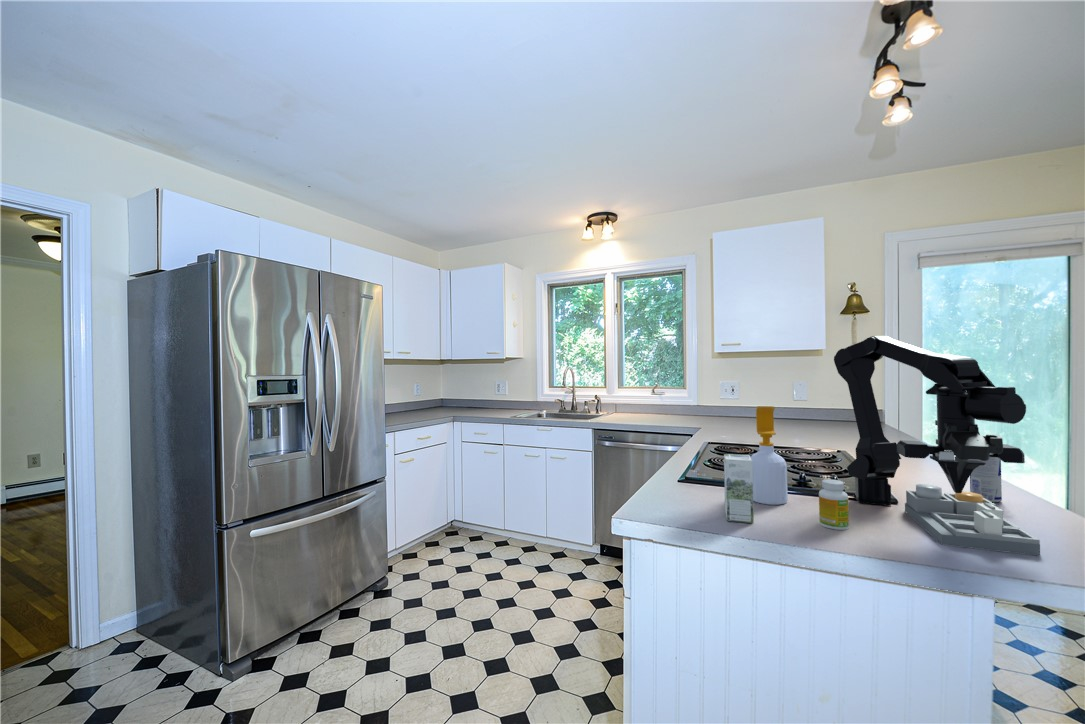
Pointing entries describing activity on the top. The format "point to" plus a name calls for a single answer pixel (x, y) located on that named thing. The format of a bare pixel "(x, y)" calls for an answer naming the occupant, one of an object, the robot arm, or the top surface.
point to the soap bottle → (768, 463)
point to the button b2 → (969, 497)
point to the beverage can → (987, 480)
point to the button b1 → (928, 491)
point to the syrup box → (738, 488)
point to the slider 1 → (990, 509)
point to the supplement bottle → (833, 505)
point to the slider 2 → (987, 523)
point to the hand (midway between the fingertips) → (957, 492)
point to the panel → (966, 525)
